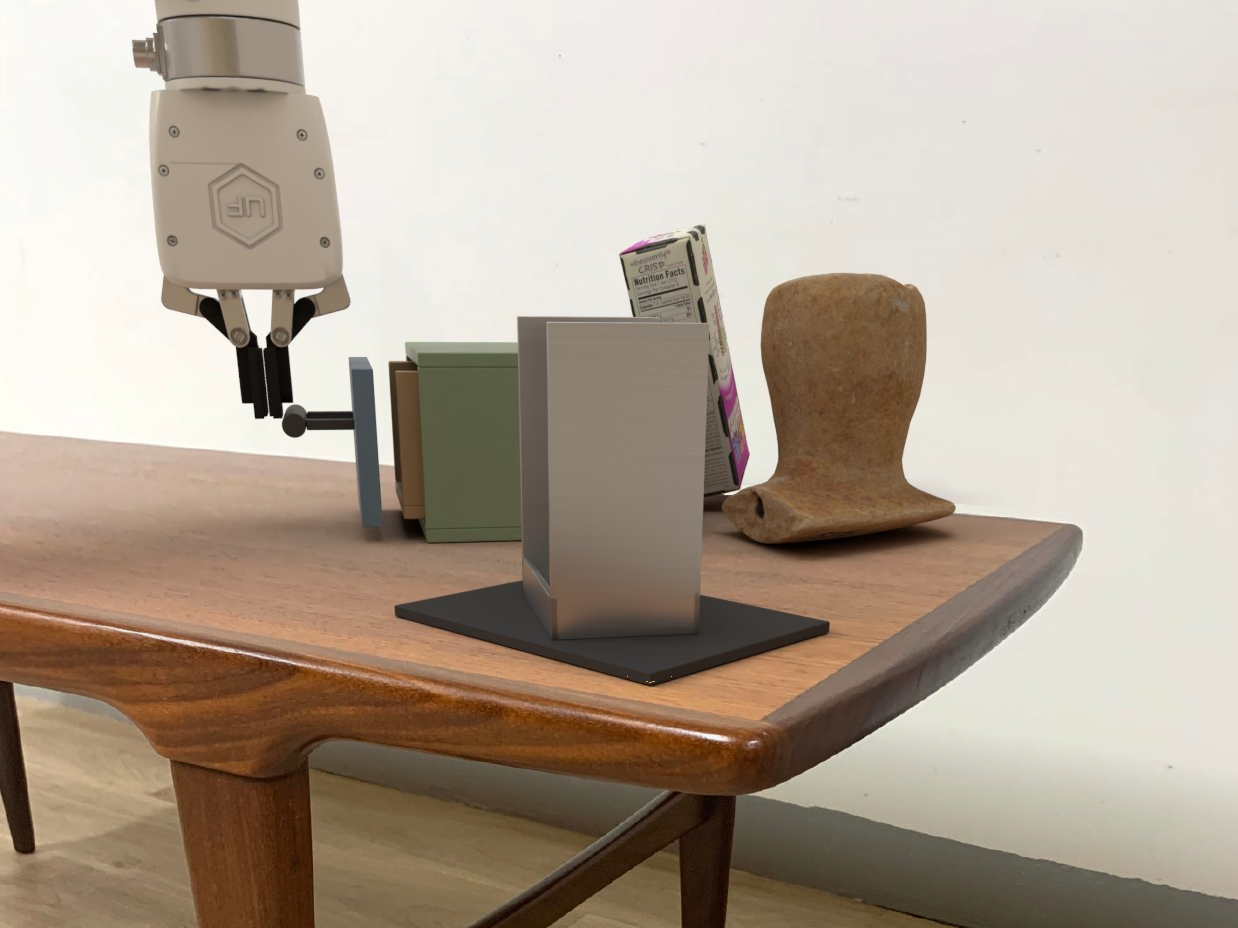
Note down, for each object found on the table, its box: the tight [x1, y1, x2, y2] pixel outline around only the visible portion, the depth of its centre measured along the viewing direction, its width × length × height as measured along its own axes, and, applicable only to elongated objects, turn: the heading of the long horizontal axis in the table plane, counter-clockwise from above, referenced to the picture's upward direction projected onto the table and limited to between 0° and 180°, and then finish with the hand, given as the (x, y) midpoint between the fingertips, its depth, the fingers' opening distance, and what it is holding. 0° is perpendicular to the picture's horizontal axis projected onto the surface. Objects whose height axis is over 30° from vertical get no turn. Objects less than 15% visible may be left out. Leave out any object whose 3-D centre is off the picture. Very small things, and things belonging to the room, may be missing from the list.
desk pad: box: [394, 579, 831, 686], centre depth 59 cm, size 16×12×1 cm
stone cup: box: [721, 272, 957, 545], centre depth 78 cm, size 15×12×15 cm
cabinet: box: [404, 341, 522, 544], centre depth 82 cm, size 16×14×11 cm
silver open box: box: [516, 315, 709, 640], centre depth 56 cm, size 6×9×12 cm
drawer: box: [281, 356, 425, 528], centre depth 81 cm, size 19×12×9 cm, turn 102°
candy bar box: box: [618, 223, 751, 499], centre depth 89 cm, size 11×5×16 cm, turn 172°
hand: (269, 416), depth 79 cm, fingers closed
